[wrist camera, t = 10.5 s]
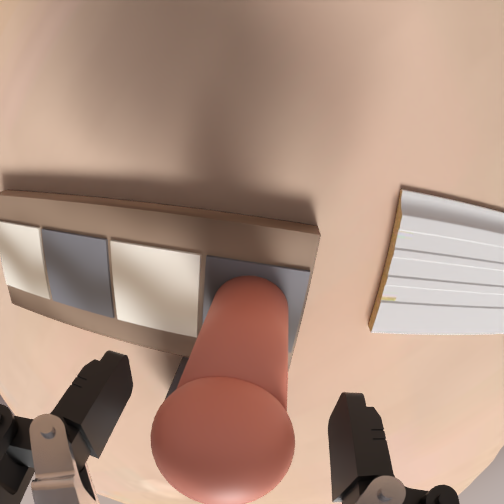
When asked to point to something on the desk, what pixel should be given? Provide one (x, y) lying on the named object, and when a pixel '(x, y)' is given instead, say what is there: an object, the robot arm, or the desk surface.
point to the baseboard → (442, 269)
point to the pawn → (231, 401)
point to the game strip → (144, 264)
